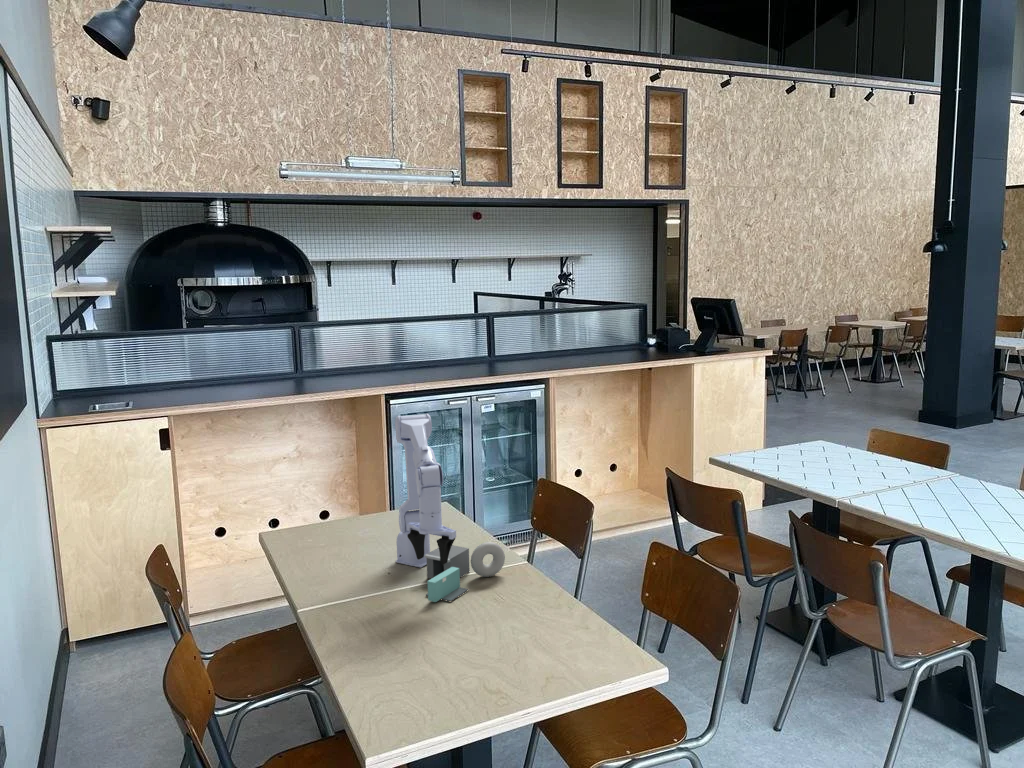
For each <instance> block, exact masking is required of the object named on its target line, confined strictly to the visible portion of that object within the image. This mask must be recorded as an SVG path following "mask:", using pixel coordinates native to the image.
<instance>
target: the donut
mask: <svg viewBox="0 0 1024 768" xmlns="http://www.w3.org/2000/svg"><path fill="white" fill-rule="evenodd" d="M487 555H492V561H491V562H490V563H488V564H486V563H484V561H483V560H484V558H485V557H486V556H487ZM505 562H506V555H505V551H504V549H503V547H502V546H501V545H500V544H498V543H497V542H494V541H485V542H482V543H480V544H479V545H477V546H476V547H475V549H473V552H472V554H471V556H470V566H471V569H472V570H473V572H474V573H476V575H477V576H479V577H483V578H486V577H487V578H489V576H490V577H493V576H495V575H497V574H498V573H500V571H501V570H502V568H503V567H504V566H505V565H504V564H505Z"/></svg>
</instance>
